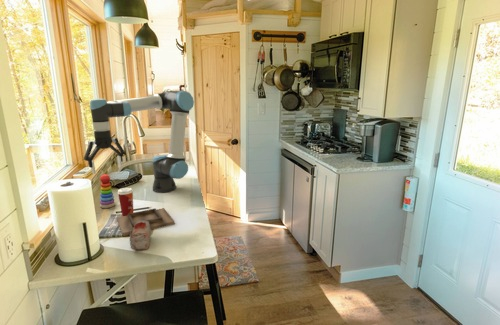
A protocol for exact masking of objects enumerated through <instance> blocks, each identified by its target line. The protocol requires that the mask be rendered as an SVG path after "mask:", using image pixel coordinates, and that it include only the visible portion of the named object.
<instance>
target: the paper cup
mask: <svg viewBox="0 0 500 325" xmlns="http://www.w3.org/2000/svg"><path fill="white" fill-rule="evenodd" d="M133 192H134V190H133V188H131V187H121V188H120V189H118V190H117V195H118V199H119V205H120V209H121V217H122V216H127V215H128V214H129V213H134V196H133Z"/></svg>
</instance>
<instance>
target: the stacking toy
mask: <svg viewBox="0 0 500 325" xmlns="http://www.w3.org/2000/svg"><path fill="white" fill-rule="evenodd" d="M110 180H111V177H110V175H109V174H102V175H101V176H100V178H99V181H100V182H101V183H100V199H99V200H100V201H99V207H100V208H101V209H109V208H113V207H114V206H115V205H116V201H115V199H114V197H115V196H114V193H113V189H112V186H111V182H110Z"/></svg>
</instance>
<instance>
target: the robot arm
mask: <svg viewBox="0 0 500 325" xmlns="http://www.w3.org/2000/svg"><path fill="white" fill-rule="evenodd" d="M194 100H195V99H194V97H193V96H192V94H191V93H190V92H189V91H186V90H169V91H164V92H160V93H155V94H153V95H151V96H143V97H134V98H126V99H119V100H111V101H110V100H109V101H107V99H106V98H94V99H93V98H92V99H90V100H89V108H90V113H91V119H92V126H93V130H94V131H93V136H94V140H93V141H92V140H89V141H88V144H87V148H86V151H85V154H84V156H83V160H84V161H86V162H87V163H88V167H89V168H91V173H92V174H94V175H95V174H96V169H95V168H96V167H95V161H94V158H95V157H96V155H97V154H98V152H99V151H100V150H104V149H108V148H110V150H112V151H113V152H114V153H115V154H116V155H117V156H116V158H117V166H118V169H122V168H123V164H122V162H123V161H124V160H123V156H124V155H126V151H125V150H124V148H123V147H122V146H121V144H120V142H119V139H118V138H117V137H114V138H112V135H111V130H110V129H111V126H110V125H111V124H110V118H121V117H122V118H123V117H129V116H131V114H132V112H133V113H134V112H141V111H147V110H153V109H157V110H169V112H170V114H171V126H170V139H169V150H168V151H169V152H168V154H162V155H161V154H160V155H156V156H153V158H152V166H153V175H154V176H153V178H154V180H153V183H152V192H154V193H161V194H162V193H168V192H169V193H170V192H172V191H175V190H176V189H177V185H176V182H175V180H176V179H177V180H180V179H182V178H184V177H185V176H187V174H188V172H189V165H188V163H187V162H186V156H185V155H184V148H185V136H186V124H187V116H189V115H190V111H191V110H192V108H194V103H195V101H194ZM112 143H114V145H115V146H116V147H114V145H113V144H112ZM94 145H96V146H95V147H94ZM93 147H94V149H93ZM92 150H93V151H92ZM174 179H175V180H174Z"/></svg>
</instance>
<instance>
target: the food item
mask: <svg viewBox="0 0 500 325" xmlns="http://www.w3.org/2000/svg"><path fill="white" fill-rule="evenodd" d="M133 225H134V228H133V231H132V234H131V231H130V235H129V244H130V245H129V246H130V249H132V250H133V251H134V250H135V251H139V250H140V251H141V250H142V251H143V250H144V251H145V250H148V249H149V248H150V243H151V234H152V229H151V230H150V224H149V222H148V221H143V220H142V221H137V222H135V224H133Z"/></svg>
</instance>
